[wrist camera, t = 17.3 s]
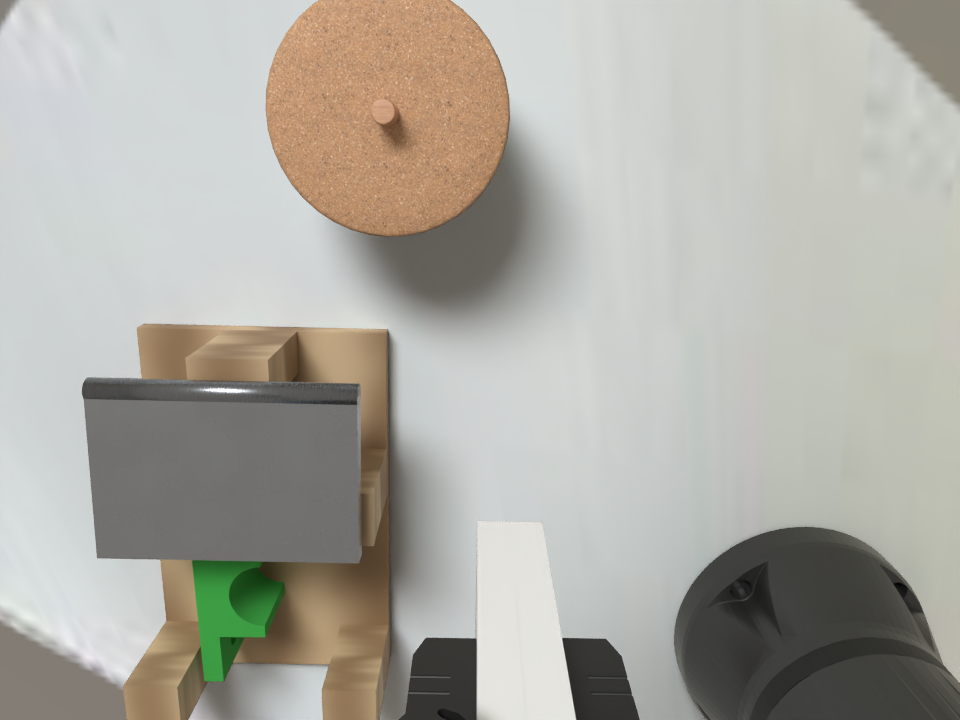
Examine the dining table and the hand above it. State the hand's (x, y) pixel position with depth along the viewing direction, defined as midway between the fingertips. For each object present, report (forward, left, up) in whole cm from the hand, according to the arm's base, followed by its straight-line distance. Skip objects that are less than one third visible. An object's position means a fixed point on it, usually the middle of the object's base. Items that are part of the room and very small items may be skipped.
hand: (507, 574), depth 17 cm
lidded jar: (+5, -11, -27) cm, 29 cm away
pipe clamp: (+14, +15, -26) cm, 33 cm away
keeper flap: (+13, +6, -19) cm, 24 cm away
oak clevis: (+13, +11, -26) cm, 32 cm away
